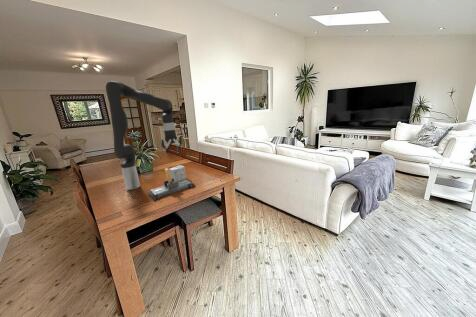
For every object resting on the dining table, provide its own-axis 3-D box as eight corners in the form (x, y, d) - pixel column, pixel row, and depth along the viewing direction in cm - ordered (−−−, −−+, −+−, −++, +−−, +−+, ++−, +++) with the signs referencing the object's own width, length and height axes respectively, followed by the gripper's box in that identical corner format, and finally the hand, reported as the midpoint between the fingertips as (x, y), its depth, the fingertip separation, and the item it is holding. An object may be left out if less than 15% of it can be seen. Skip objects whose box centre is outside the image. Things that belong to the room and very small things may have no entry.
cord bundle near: (148, 193, 133) (147, 191, 133) (153, 191, 136) (153, 189, 135) (154, 201, 122) (153, 198, 122) (160, 199, 125) (160, 196, 124)
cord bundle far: (182, 182, 149) (182, 180, 148) (187, 181, 151) (187, 179, 150) (191, 188, 137) (190, 186, 137) (196, 186, 140) (195, 184, 139)
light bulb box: (181, 176, 161) (179, 164, 157) (186, 178, 157) (184, 166, 154) (170, 181, 152) (168, 168, 149) (175, 183, 149) (173, 170, 145)
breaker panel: (151, 193, 133) (149, 184, 131) (186, 182, 148) (184, 174, 146) (155, 198, 125) (153, 189, 123) (191, 186, 141) (190, 177, 139)
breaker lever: (169, 185, 137) (164, 168, 132) (171, 184, 138) (166, 167, 133) (171, 187, 134) (166, 170, 129) (173, 186, 135) (168, 169, 130)
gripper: (177, 127, 139) (180, 149, 144) (157, 130, 131) (161, 153, 136) (181, 128, 134) (184, 150, 138) (160, 131, 125) (165, 155, 130)
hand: (173, 152), depth 137 cm, fingers open, 7 cm apart
